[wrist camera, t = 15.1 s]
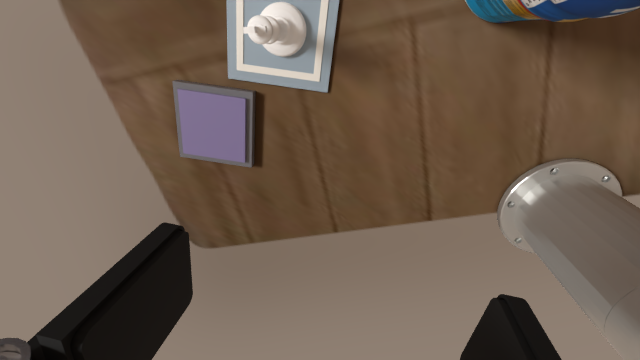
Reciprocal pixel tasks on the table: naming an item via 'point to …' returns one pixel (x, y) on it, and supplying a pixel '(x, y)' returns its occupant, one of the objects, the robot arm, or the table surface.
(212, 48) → the table surface
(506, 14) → the beverage bottle
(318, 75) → the pale blue flat square
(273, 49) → the chess piece
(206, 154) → the ink pad
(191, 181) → the table surface
